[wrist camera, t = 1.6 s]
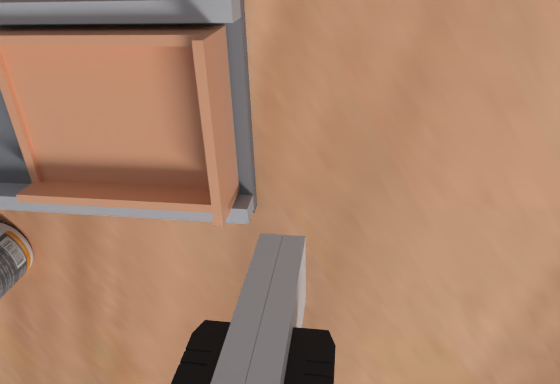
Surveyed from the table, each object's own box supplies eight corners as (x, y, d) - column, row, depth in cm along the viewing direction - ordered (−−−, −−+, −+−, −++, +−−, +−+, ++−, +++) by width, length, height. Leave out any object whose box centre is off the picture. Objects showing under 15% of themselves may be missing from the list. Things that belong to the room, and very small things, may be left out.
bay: (-90, 187, 38) (-128, 208, 35) (-184, -5, 31) (-243, 2, 28) (256, 205, 34) (247, 231, 31) (243, -13, 26) (228, -6, 23)
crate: (44, 182, 34) (4, 213, 30) (-6, 27, 29) (-63, 40, 25) (239, 191, 32) (223, 226, 28) (225, 25, 26) (202, 40, 23)
